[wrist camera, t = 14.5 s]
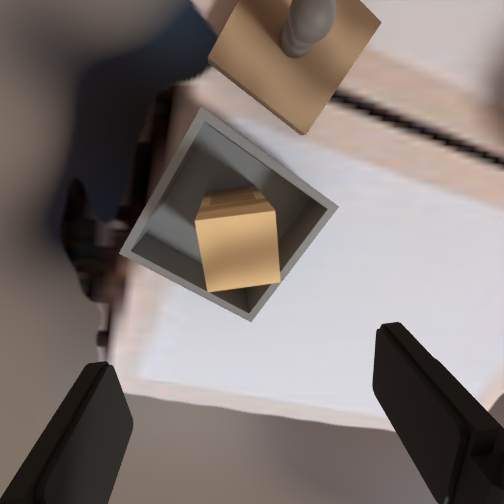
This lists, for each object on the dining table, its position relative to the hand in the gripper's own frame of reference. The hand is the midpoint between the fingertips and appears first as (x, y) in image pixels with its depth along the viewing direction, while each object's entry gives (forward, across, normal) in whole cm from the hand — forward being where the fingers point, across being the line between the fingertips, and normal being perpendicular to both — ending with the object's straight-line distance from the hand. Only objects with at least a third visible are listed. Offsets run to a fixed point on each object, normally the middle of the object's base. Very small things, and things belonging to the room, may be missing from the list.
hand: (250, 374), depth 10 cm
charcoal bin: (+26, +1, 0) cm, 26 cm away
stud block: (+26, -8, -16) cm, 32 cm away
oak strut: (+25, 0, 0) cm, 25 cm away
